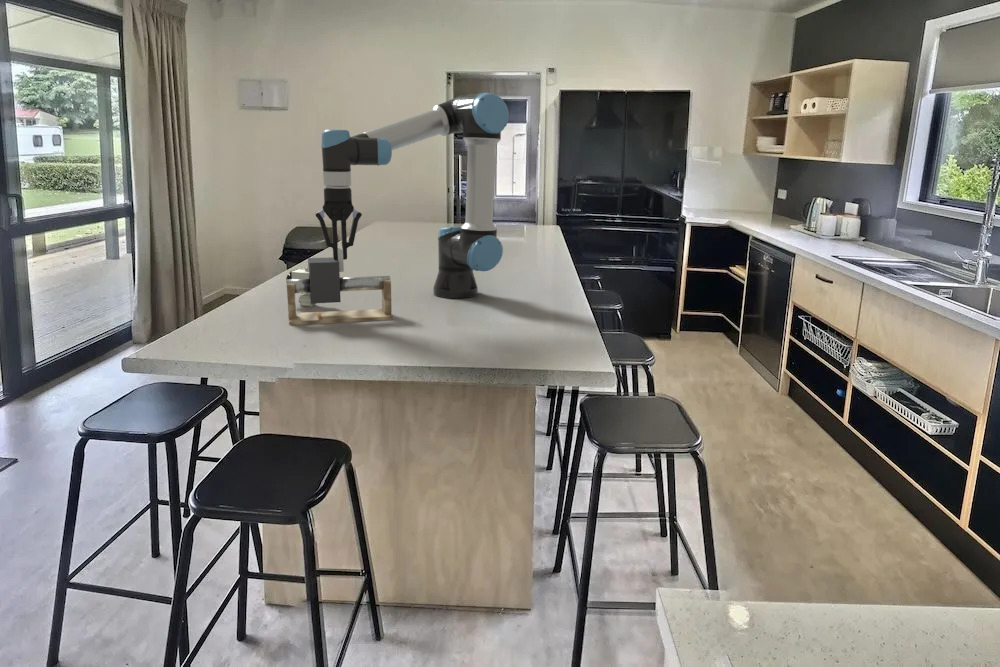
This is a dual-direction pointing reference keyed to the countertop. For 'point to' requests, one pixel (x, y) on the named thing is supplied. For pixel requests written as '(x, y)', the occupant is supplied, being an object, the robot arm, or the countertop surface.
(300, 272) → the pneumatic valve
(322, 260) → the collar
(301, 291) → the pipe
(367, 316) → the pipe rig
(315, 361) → the countertop surface
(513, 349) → the countertop surface
